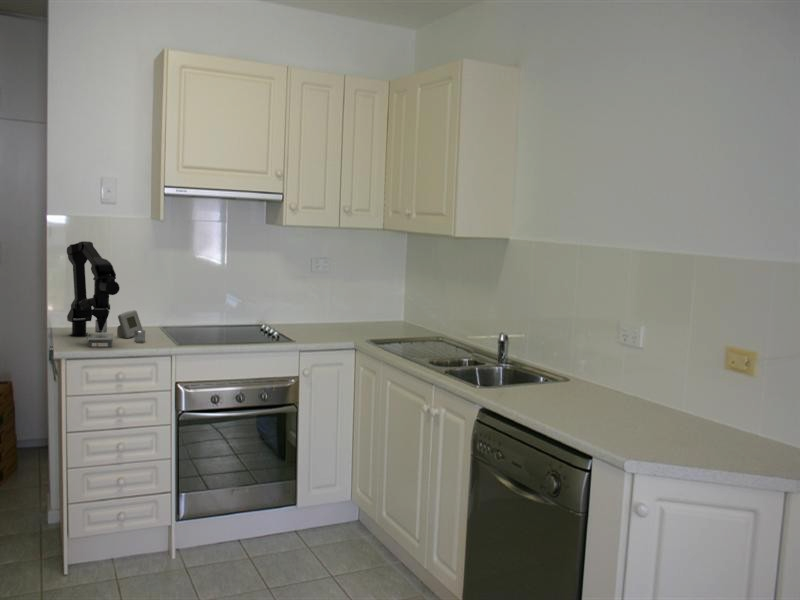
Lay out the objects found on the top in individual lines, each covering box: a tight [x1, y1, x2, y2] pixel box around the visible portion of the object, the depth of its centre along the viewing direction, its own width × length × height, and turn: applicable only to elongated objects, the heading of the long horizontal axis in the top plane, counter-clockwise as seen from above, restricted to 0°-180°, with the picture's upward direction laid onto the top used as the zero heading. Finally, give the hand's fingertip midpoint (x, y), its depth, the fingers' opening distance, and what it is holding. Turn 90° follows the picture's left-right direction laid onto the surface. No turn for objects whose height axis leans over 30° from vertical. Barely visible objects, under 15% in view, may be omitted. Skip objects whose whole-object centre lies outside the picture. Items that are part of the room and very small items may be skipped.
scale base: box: [87, 337, 114, 348], centre depth 304 cm, size 10×9×2 cm
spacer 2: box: [133, 329, 146, 344], centre depth 315 cm, size 4×4×5 cm
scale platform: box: [87, 332, 113, 341], centre depth 304 cm, size 10×9×1 cm
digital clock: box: [116, 310, 144, 339], centre depth 329 cm, size 16×9×11 cm, turn 165°
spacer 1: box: [94, 319, 108, 334], centre depth 306 cm, size 4×4×5 cm
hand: (100, 329), depth 306 cm, fingers closed on spacer 1, 4 cm apart
